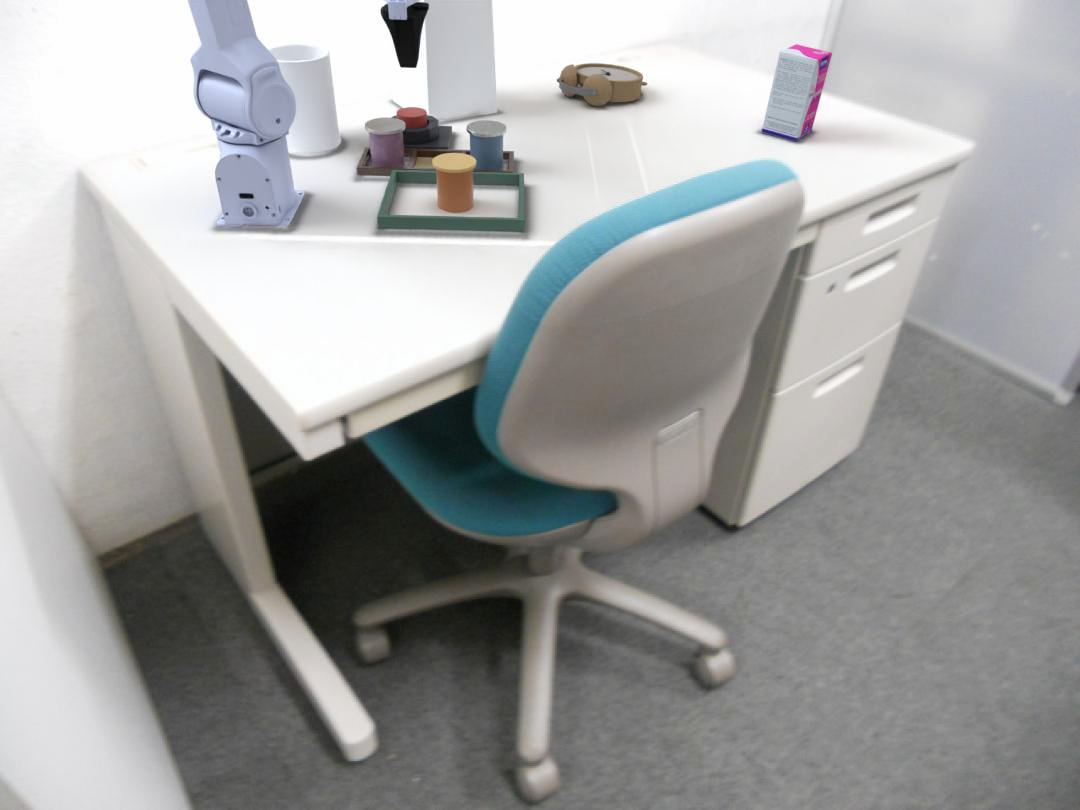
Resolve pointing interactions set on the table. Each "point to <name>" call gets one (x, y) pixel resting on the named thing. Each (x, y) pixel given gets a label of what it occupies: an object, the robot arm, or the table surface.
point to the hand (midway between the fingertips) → (408, 66)
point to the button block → (427, 135)
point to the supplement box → (796, 92)
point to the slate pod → (487, 143)
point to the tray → (451, 221)
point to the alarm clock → (601, 83)
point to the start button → (413, 117)
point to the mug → (309, 97)
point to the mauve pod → (386, 142)
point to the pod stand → (421, 161)
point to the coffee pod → (454, 181)
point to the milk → (451, 62)
